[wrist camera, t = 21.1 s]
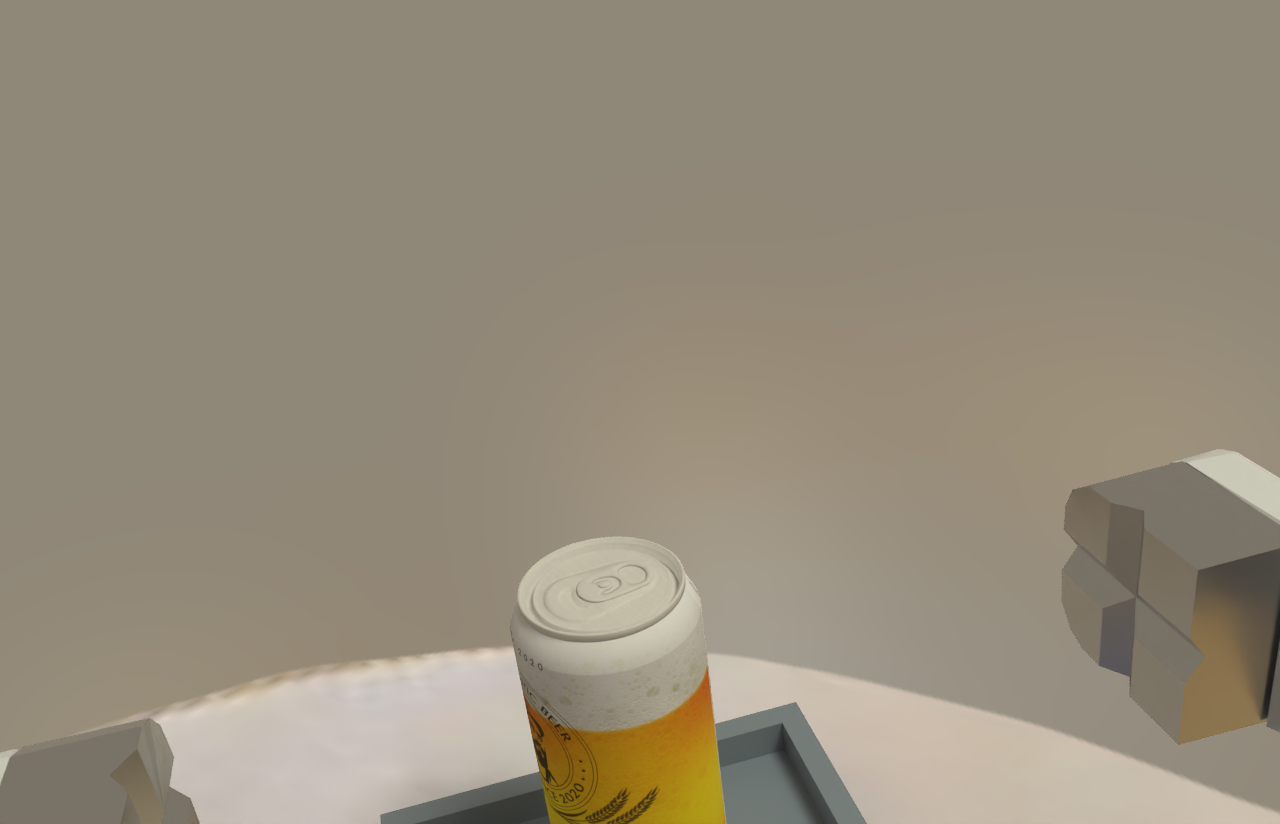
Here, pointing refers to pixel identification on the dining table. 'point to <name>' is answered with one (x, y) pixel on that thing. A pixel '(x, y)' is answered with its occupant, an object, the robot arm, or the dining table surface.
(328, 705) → the dining table surface
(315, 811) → the dining table surface
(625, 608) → the beer can
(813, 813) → the tray
